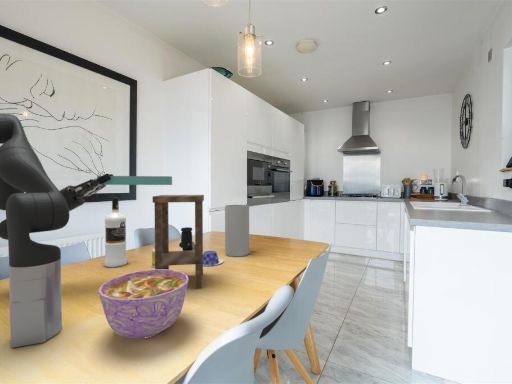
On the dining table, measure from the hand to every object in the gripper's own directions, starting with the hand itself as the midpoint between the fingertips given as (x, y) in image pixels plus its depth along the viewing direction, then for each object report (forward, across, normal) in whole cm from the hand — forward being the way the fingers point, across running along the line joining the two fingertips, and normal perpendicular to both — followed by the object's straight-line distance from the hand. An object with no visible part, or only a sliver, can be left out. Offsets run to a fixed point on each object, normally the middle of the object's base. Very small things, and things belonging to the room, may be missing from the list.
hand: (111, 176), depth 91 cm
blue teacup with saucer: (+10, +23, +50) cm, 56 cm away
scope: (0, +38, +45) cm, 58 cm away
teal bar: (+5, 0, +6) cm, 8 cm away
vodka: (-26, +27, +30) cm, 48 cm away
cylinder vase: (+22, +37, +57) cm, 71 cm away
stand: (+1, 0, +45) cm, 45 cm away
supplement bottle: (-10, +22, +39) cm, 46 cm away
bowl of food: (-3, -31, +43) cm, 53 cm away
